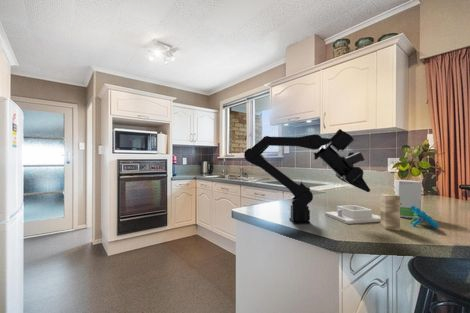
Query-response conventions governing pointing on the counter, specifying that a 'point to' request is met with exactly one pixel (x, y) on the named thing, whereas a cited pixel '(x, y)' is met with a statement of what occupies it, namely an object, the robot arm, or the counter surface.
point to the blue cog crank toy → (422, 217)
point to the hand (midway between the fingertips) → (365, 189)
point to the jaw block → (390, 211)
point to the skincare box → (408, 196)
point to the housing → (353, 214)
